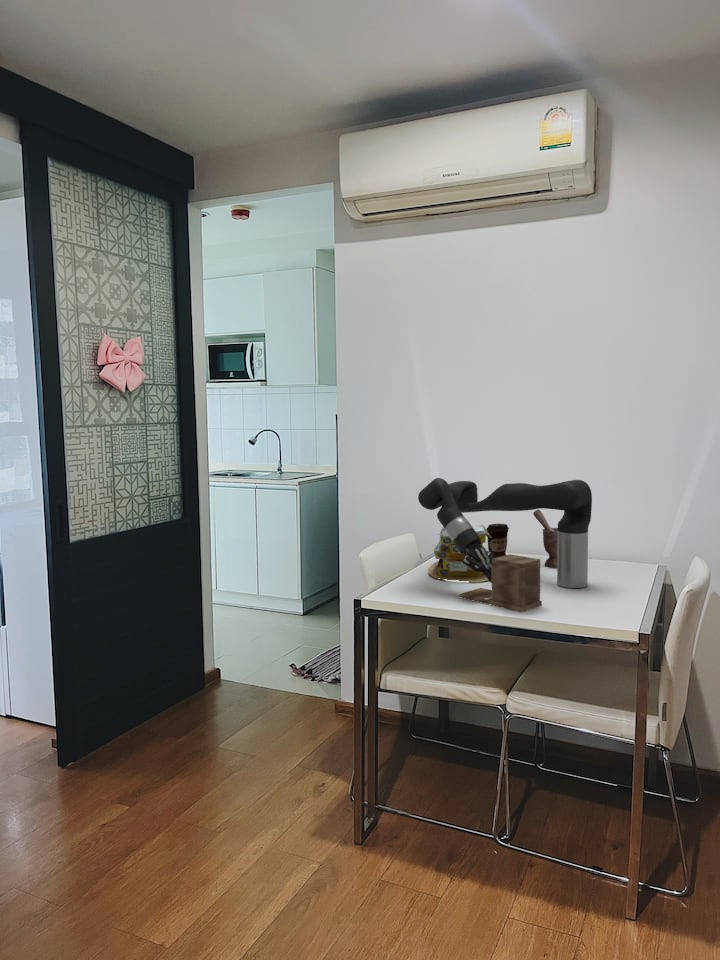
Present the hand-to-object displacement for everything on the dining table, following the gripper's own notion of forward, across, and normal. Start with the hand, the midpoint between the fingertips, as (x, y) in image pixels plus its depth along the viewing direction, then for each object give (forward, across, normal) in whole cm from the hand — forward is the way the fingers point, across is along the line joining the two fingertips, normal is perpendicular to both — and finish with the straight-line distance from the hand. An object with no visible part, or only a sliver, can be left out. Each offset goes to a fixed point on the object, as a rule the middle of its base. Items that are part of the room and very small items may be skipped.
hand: (495, 581), depth 213 cm
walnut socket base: (+4, 0, -4) cm, 6 cm away
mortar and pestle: (-6, -50, -14) cm, 53 cm away
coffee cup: (-20, -47, -29) cm, 59 cm away
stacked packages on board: (-15, -20, -24) cm, 35 cm away
